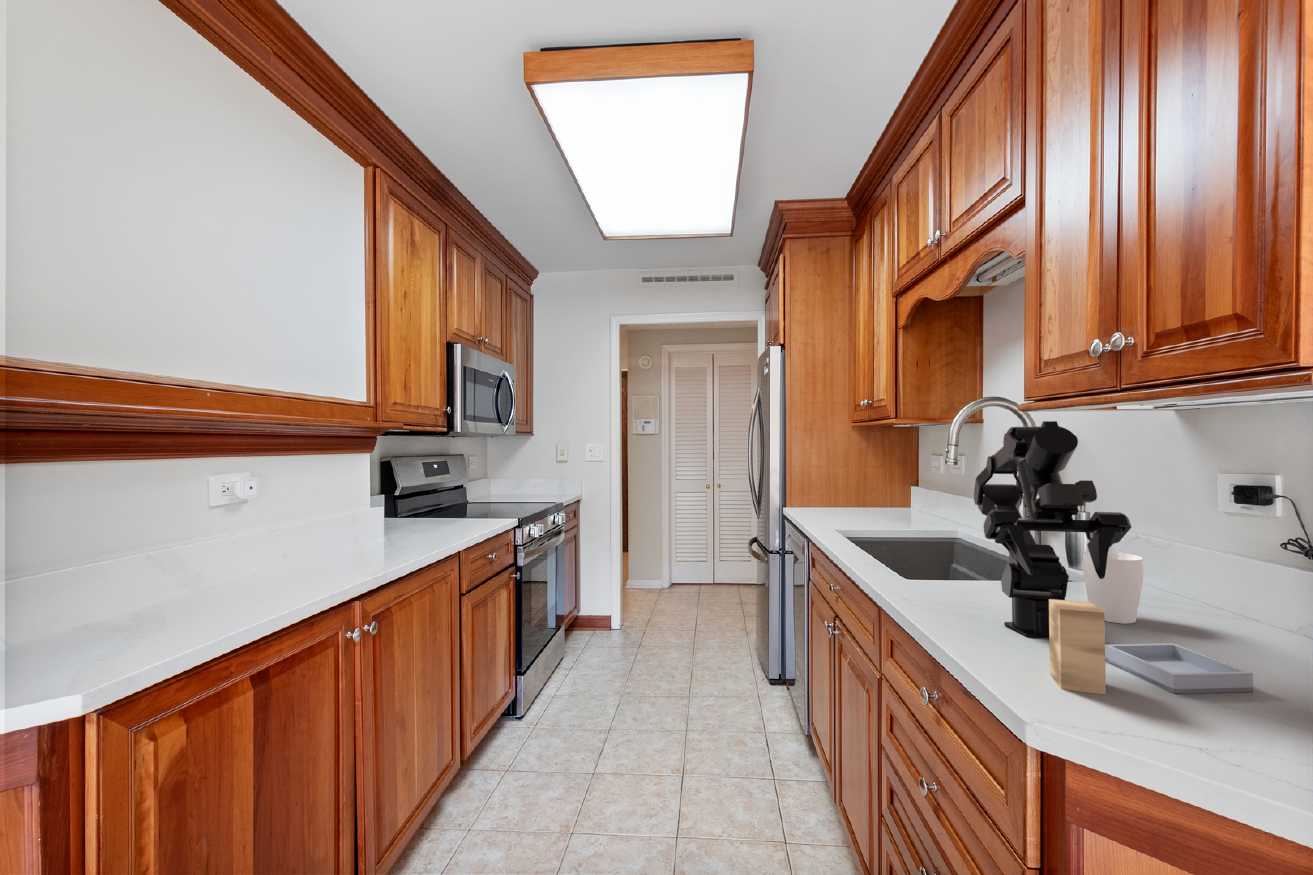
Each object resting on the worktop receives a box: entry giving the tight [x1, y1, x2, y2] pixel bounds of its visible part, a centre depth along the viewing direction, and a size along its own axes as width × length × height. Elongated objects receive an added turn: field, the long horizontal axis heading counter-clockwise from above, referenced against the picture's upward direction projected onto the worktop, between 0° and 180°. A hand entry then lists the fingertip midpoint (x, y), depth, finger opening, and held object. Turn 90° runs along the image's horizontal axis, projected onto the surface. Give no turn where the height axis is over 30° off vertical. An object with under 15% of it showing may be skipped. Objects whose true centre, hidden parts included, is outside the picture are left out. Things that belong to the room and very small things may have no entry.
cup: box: [1081, 550, 1145, 625], centre depth 105 cm, size 9×9×12 cm
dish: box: [1105, 642, 1254, 694], centre depth 79 cm, size 11×11×2 cm
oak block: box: [1048, 599, 1107, 695], centre depth 77 cm, size 5×5×11 cm
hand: (1066, 575), depth 84 cm, fingers open, 9 cm apart
